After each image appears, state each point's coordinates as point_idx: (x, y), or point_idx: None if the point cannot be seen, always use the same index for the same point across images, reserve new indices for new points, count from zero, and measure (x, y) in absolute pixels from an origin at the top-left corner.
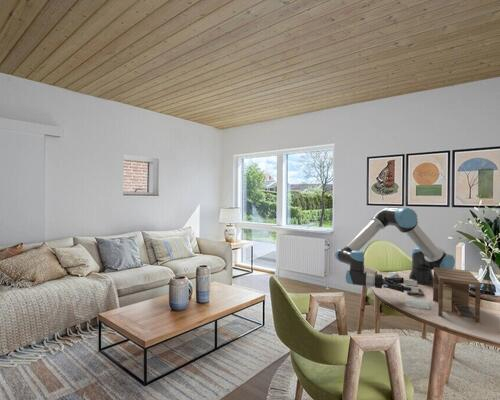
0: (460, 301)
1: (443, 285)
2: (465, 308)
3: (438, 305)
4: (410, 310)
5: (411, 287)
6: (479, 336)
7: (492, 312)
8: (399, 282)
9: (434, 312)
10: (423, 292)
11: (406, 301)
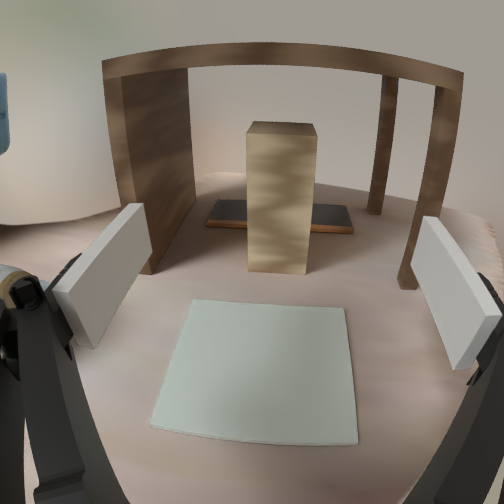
0: (187, 198)
1: (281, 129)
2: (241, 206)
3: (254, 265)
4: (436, 408)
5: (461, 263)
6: (489, 232)
7: (244, 176)
8: (76, 385)
9: (373, 298)
10: (46, 282)
11: (239, 429)
